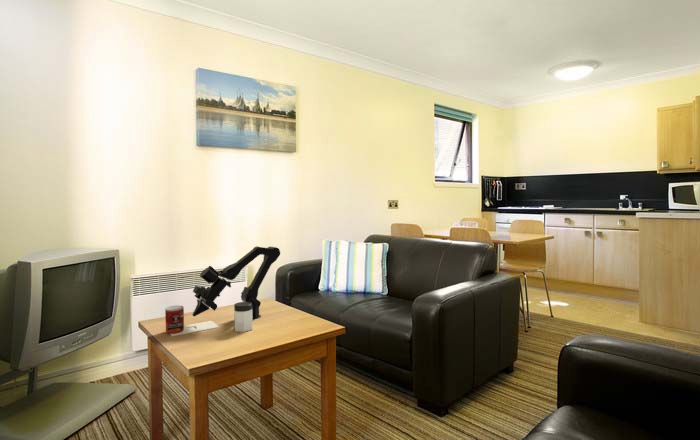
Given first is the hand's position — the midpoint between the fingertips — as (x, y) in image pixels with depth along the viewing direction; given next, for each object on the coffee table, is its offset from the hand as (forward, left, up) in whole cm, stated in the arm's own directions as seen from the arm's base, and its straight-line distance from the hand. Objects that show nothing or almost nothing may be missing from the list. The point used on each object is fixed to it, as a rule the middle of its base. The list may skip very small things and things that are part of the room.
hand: (193, 315), depth 181 cm
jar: (-23, -8, -6) cm, 25 cm away
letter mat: (0, +1, -6) cm, 6 cm away
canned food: (+4, +7, -6) cm, 10 cm away
